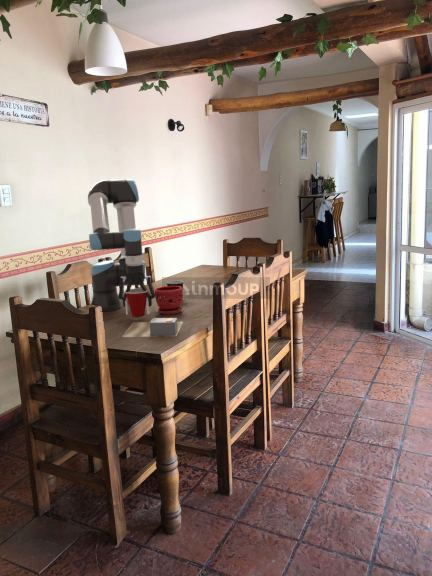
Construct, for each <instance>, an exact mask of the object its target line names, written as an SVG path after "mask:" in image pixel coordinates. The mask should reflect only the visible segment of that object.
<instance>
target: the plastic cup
mask: <svg viewBox="0 0 432 576" xmlns="http://www.w3.org/2000/svg"><path fill="white" fill-rule="evenodd" d="M147 292H150V290H149V288H147V291H143V290H142V288H130V291H129V292H126V290H123V293H124V294H126V296H127V298H126V299H128V303H129V312H130V314H131V317H133V318H142V317H144V316H145V314H146V309H147V302H146V300H147V299H148V298H147V297H146V293H147Z"/></svg>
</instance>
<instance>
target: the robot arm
mask: <svg viewBox="0 0 432 576" xmlns="http://www.w3.org/2000/svg"><path fill="white" fill-rule="evenodd" d="M87 195H88V196H87V203H88V205H89V206H90V214H91V224H92V233H89V234H88V240H89V248H90V250H92V251H105V250H115V249H117V250H119V249H120V257H119V258H118V262H115V260H111V259H110V260H104V261H99V262H96V263H94V264H92V265H91V267H90V271H91V272H90V276H91V283H92V297H91V301H90V306H91V305H95V306H101V307H102V310H103V311H102V312H110V311H116V310H118V309H121V308H122V305H123V307H124V308H125V314H126V315H129V313H130V307H129V303H128V299H127V296H126V294H125V293H124V287H126V292H129V291H130V289H132V286H139V288H140V289H142V290H143V291H147V289H148V290H149V291H148V292H147V293H146V297H147V299H146V315H150V314H151V307H152V304H153V303H152V300H153V299H156V298H155V288H154V286H153V283H152V276H151V275H146V261H145V260H144V256H143V255H144V254H143V246H142V245H143V244H142V242H143V241H142V237H143V236H142V232H141V229H140V228H137V227H136V218H135V216H136V215H135V208H136V206H137V203H139V202H140V198H139V191H138V187H137V183H136V182H135V181H134V179H130V178H129V179H128V178H122V179H121V178H119V179H103V180H99V181H98V182H96V183H95V184H94V185H92V187H91V188H90V190H89V192H88V194H87ZM108 204H112V206H113V208H115V209H116V215H117V225H118V231H112V232H111V231H110V223H109V216H108V215H109V214H108V207H107V206H108ZM145 281H146V282H147V286H148V287H147V286H146V285H145ZM117 287H119V291H118V288H117ZM121 300H122V301H121Z"/></svg>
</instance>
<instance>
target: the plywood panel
mask: <svg viewBox="0 0 432 576" xmlns="http://www.w3.org/2000/svg"><path fill="white" fill-rule="evenodd" d="M183 322H184V321H177V327H178V331H177V334H176V336H175V337H177V336H178V334H179V332H180V329H181V327H182V325H183ZM151 337H152V338H153V337H156V338H157V337H158V338H160V337H161V338H162V337H164V338H165V337H166V336H150V321H144V322H143V321H141V322H140V321H137V322H136V321H135V322H134V321H133V322H132V323H131V325H129V327H128V329H126V330H125V332H124V334H122V336H121V338H151Z"/></svg>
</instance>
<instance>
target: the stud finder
mask: <svg viewBox="0 0 432 576" xmlns="http://www.w3.org/2000/svg"><path fill="white" fill-rule="evenodd" d="M149 322H150V336H165V337H177V336H176V334H177V331H178V327H177V322H178V318H177V317H158V318H157V317H155V318H151V320H150V321H149ZM177 335H178V334H177Z"/></svg>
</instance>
